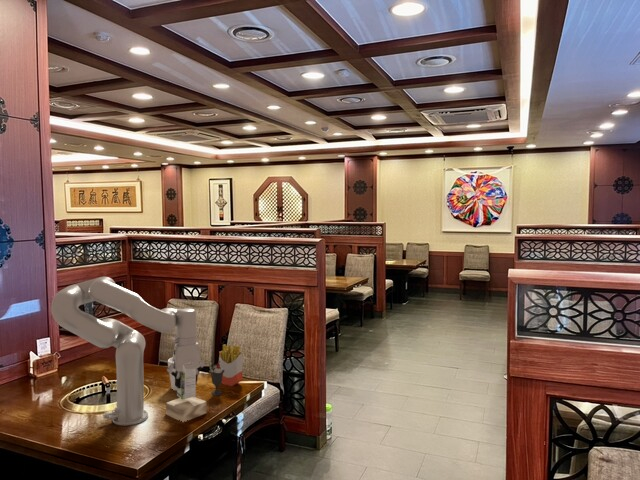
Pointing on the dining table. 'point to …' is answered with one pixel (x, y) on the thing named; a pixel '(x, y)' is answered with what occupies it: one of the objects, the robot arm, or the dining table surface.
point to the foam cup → (172, 375)
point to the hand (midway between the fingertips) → (186, 385)
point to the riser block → (186, 408)
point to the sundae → (217, 377)
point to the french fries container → (231, 364)
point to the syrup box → (187, 383)
